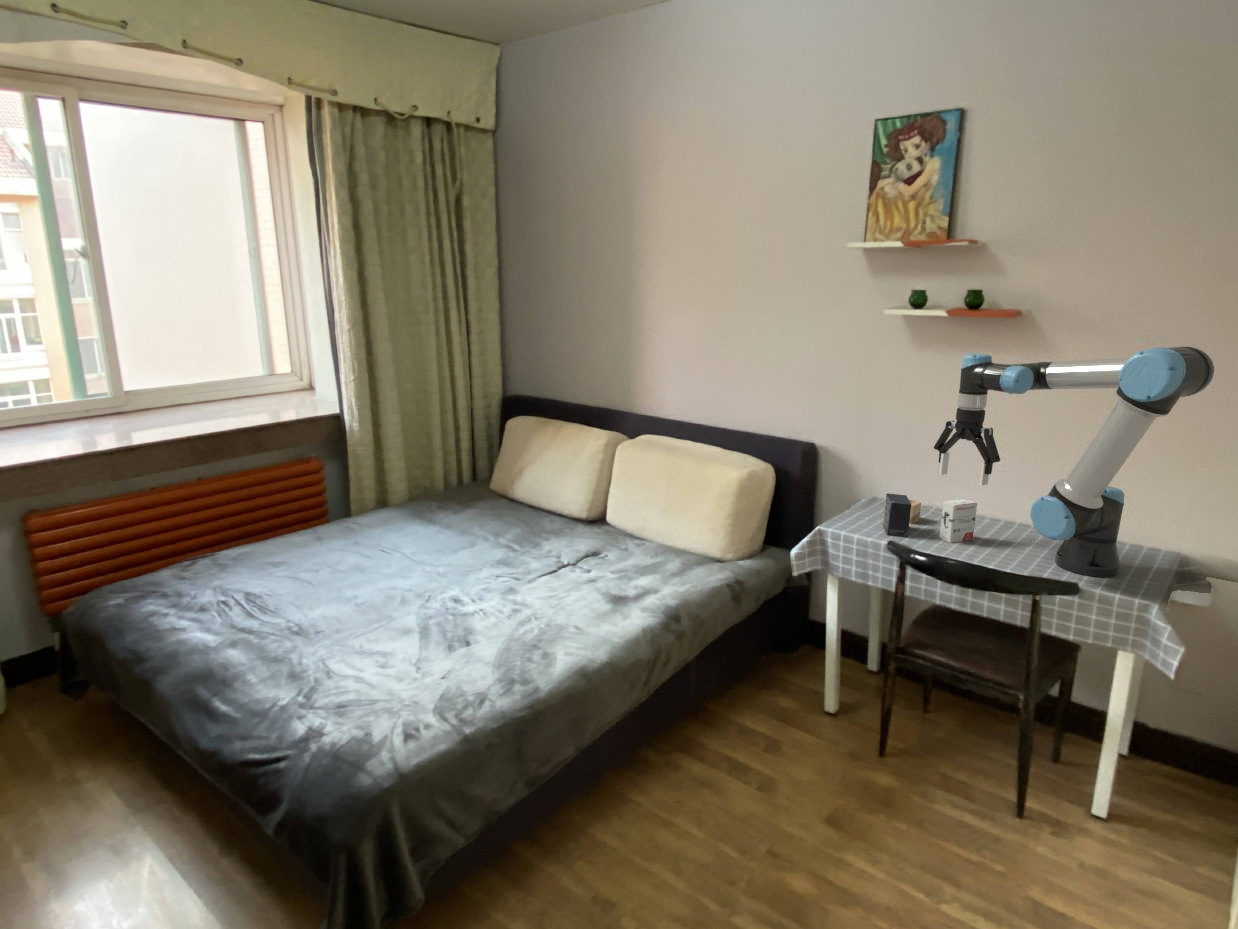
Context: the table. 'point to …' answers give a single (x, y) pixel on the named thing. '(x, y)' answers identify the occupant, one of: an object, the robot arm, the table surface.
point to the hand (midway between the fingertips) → (962, 479)
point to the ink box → (958, 520)
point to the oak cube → (915, 511)
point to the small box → (897, 515)
